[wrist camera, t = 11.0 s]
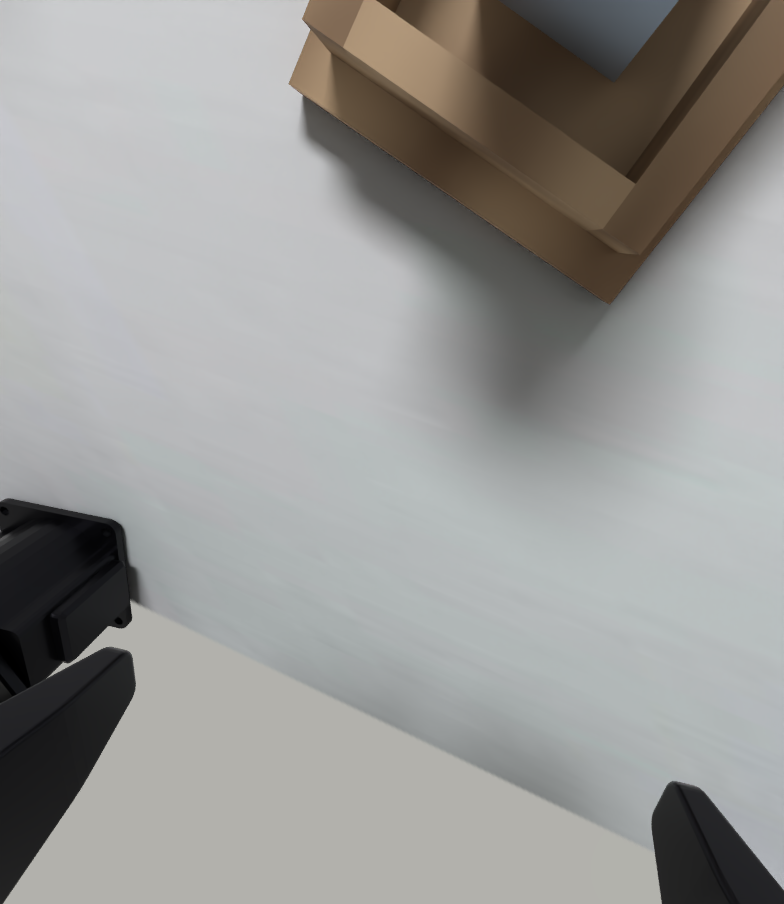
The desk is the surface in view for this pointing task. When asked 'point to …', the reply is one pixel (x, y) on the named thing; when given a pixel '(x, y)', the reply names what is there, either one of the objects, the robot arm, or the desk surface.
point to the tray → (549, 115)
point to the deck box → (597, 27)
